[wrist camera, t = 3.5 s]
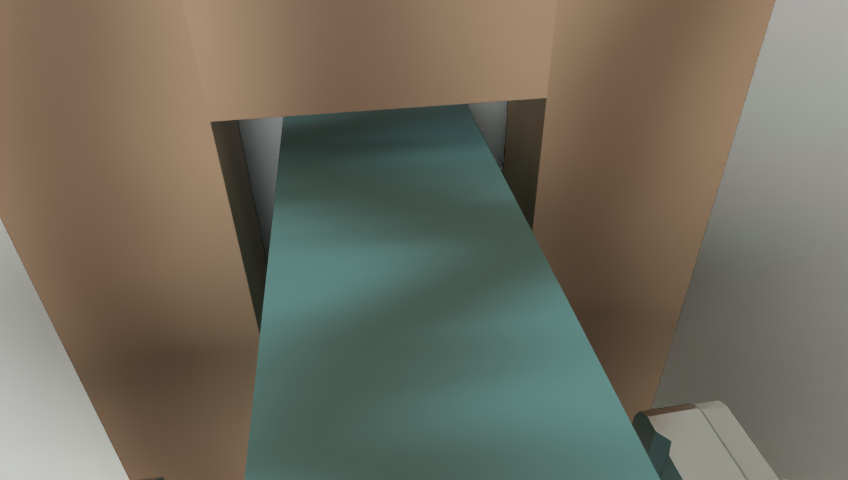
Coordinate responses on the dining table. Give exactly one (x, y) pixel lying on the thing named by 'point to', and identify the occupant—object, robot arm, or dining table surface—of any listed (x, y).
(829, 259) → the dining table surface
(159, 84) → the walnut slot holder
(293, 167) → the teal tag
